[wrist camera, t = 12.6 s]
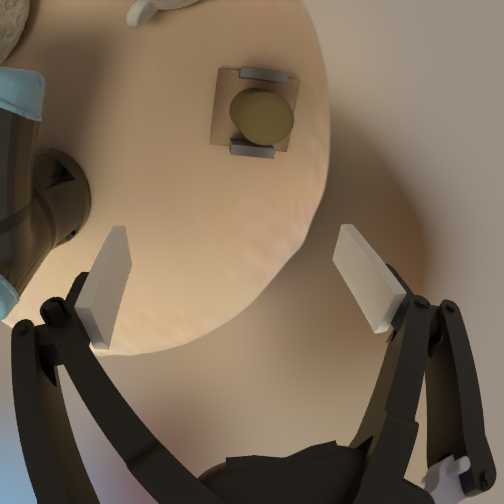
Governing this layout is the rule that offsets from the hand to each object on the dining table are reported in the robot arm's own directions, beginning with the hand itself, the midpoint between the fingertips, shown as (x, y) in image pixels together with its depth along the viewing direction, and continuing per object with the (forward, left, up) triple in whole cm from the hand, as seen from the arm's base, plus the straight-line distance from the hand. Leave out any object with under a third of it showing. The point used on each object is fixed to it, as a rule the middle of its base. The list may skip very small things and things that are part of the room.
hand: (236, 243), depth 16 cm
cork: (+3, +6, -22) cm, 23 cm away
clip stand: (+3, +6, -23) cm, 24 cm away
